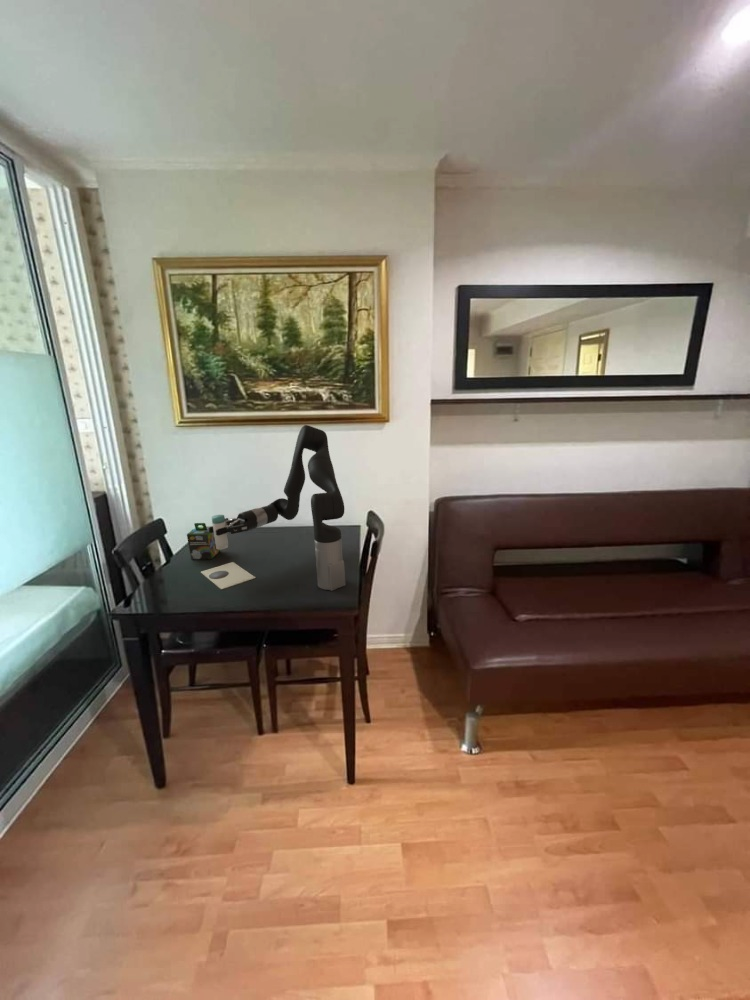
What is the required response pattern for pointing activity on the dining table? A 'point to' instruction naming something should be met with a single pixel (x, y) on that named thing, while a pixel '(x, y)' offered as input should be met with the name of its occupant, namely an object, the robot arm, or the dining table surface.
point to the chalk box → (201, 542)
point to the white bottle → (222, 539)
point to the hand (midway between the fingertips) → (212, 531)
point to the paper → (227, 575)
